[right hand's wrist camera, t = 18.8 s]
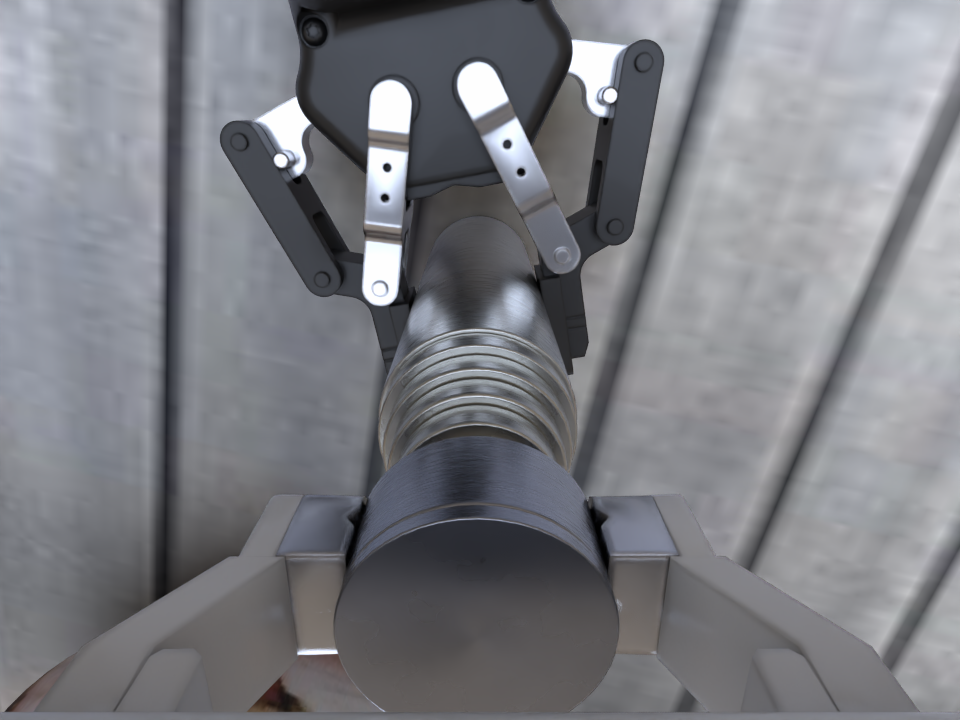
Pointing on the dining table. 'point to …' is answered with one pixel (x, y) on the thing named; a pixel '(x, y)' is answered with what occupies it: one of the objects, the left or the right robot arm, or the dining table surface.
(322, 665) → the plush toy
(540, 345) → the bottle
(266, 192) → the left robot arm
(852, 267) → the dining table surface
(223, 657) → the right robot arm
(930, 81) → the dining table surface
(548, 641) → the cap
